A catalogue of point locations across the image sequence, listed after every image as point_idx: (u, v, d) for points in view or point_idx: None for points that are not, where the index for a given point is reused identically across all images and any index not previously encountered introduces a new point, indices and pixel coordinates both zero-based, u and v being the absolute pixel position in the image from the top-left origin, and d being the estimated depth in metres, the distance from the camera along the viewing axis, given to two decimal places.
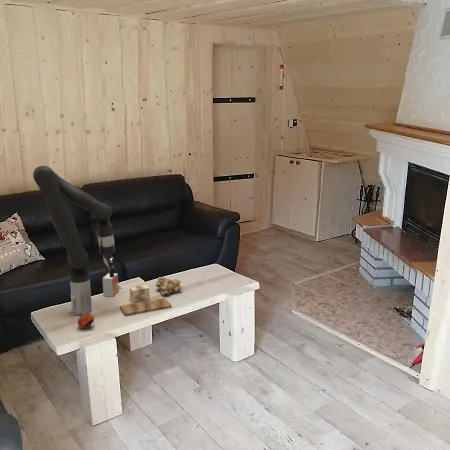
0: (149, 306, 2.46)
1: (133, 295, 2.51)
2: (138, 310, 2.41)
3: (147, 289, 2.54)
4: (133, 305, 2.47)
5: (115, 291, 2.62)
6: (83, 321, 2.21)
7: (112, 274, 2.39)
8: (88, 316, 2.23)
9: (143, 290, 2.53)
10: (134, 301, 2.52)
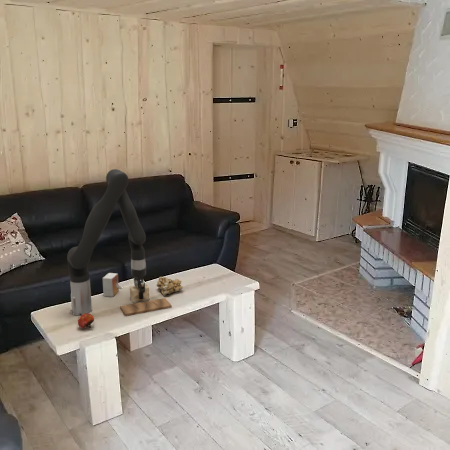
0: (149, 306, 2.46)
1: (133, 295, 2.51)
2: (138, 310, 2.41)
3: (147, 289, 2.54)
4: (133, 305, 2.47)
5: (115, 291, 2.62)
6: (83, 321, 2.21)
7: (141, 296, 2.52)
8: (88, 316, 2.23)
9: None
10: (134, 301, 2.52)
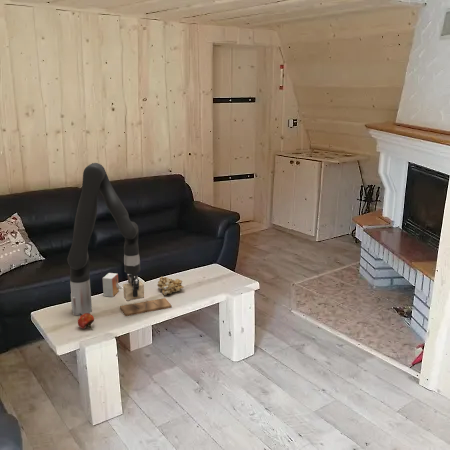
0: (149, 306, 2.46)
1: (127, 292, 2.37)
2: (138, 310, 2.41)
3: (141, 286, 2.40)
4: (133, 305, 2.47)
5: (115, 291, 2.62)
6: (83, 321, 2.21)
7: (136, 294, 2.38)
8: (88, 316, 2.23)
9: None
10: (128, 299, 2.38)
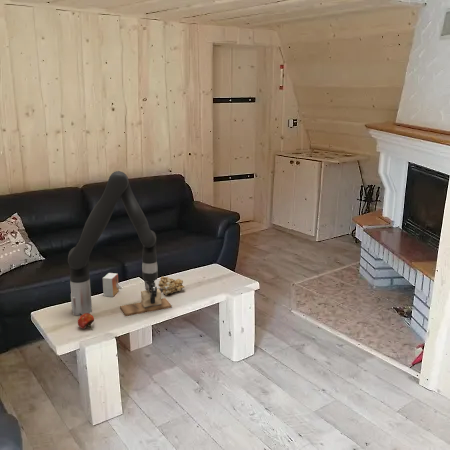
0: None
1: (144, 299, 2.42)
2: (138, 310, 2.41)
3: (159, 293, 2.45)
4: (133, 305, 2.47)
5: (115, 291, 2.62)
6: (83, 321, 2.21)
7: (153, 300, 2.43)
8: (88, 316, 2.23)
9: None
10: (145, 305, 2.43)
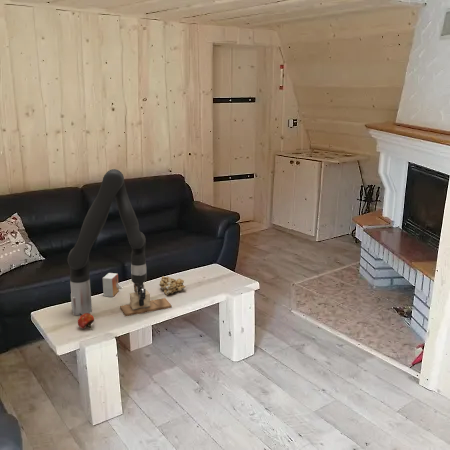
0: None
1: (133, 301, 2.40)
2: (138, 310, 2.41)
3: (148, 295, 2.43)
4: None
5: (115, 291, 2.62)
6: (83, 321, 2.21)
7: (142, 303, 2.41)
8: (88, 316, 2.23)
9: None
10: (134, 308, 2.41)
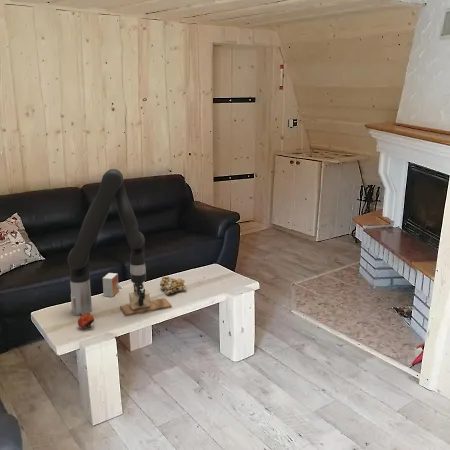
0: None
1: (133, 301, 2.40)
2: (138, 310, 2.41)
3: (147, 295, 2.42)
4: None
5: (115, 291, 2.62)
6: (83, 321, 2.21)
7: (141, 303, 2.41)
8: (88, 316, 2.23)
9: None
10: (134, 308, 2.41)
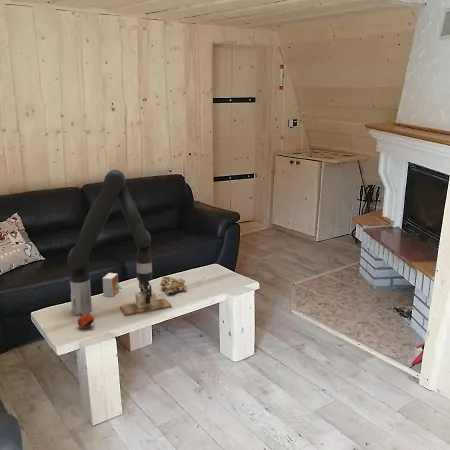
0: None
1: (139, 301, 2.41)
2: (138, 310, 2.41)
3: (153, 295, 2.44)
4: (133, 305, 2.47)
5: (115, 291, 2.62)
6: (83, 321, 2.21)
7: (148, 301, 2.40)
8: (88, 316, 2.23)
9: None
10: (140, 307, 2.42)
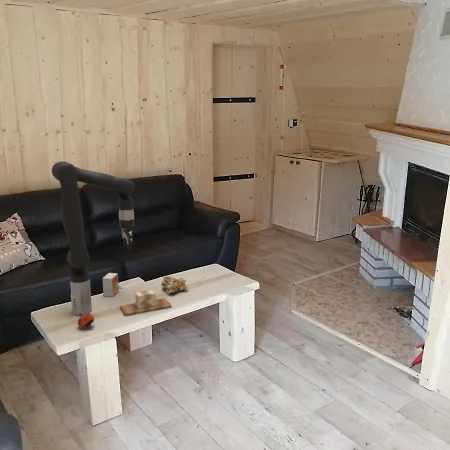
0: None
1: (139, 301, 2.41)
2: (138, 310, 2.41)
3: (153, 295, 2.44)
4: (133, 305, 2.47)
5: (115, 291, 2.62)
6: (83, 321, 2.21)
7: (130, 247, 2.45)
8: (88, 316, 2.23)
9: (149, 295, 2.43)
10: (140, 307, 2.42)
